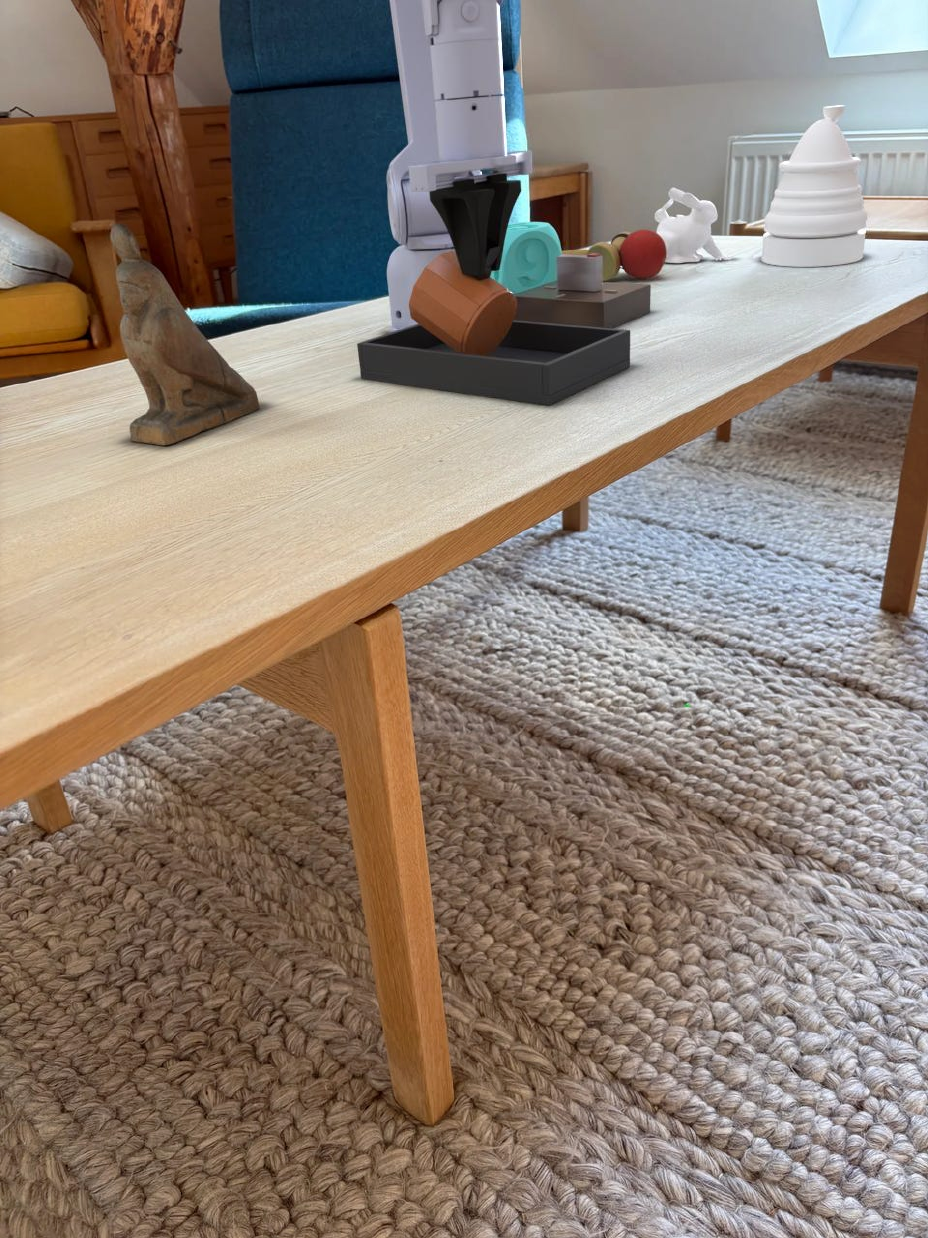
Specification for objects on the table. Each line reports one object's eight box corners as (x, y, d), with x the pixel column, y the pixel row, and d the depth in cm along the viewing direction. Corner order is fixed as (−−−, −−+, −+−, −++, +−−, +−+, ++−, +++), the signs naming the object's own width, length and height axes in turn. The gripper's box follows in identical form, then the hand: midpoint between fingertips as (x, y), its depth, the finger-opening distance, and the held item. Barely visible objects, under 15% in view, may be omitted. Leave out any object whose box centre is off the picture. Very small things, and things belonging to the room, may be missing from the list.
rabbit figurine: (734, 258, 135) (738, 182, 130) (707, 268, 130) (711, 189, 125) (657, 255, 142) (659, 183, 138) (630, 264, 137) (630, 189, 133)
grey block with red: (557, 289, 108) (556, 253, 106) (564, 287, 109) (563, 251, 107) (596, 291, 105) (595, 255, 103) (602, 289, 106) (602, 253, 104)
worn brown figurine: (176, 475, 79) (82, 252, 68) (132, 465, 82) (35, 249, 70) (273, 405, 86) (202, 192, 74) (229, 398, 88) (155, 192, 77)
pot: (456, 369, 88) (401, 328, 90) (501, 351, 93) (448, 313, 95) (490, 268, 81) (430, 226, 83) (538, 254, 86) (479, 215, 88)
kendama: (531, 289, 133) (646, 276, 121) (529, 239, 131) (646, 221, 120) (564, 289, 138) (678, 276, 127) (562, 241, 137) (677, 224, 125)
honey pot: (797, 248, 139) (809, 105, 130) (882, 254, 130) (900, 101, 121) (741, 262, 132) (750, 112, 124) (827, 269, 123) (842, 108, 115)
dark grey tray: (360, 378, 92) (356, 343, 90) (448, 346, 101) (446, 314, 99) (549, 405, 80) (548, 364, 78) (630, 366, 89) (630, 329, 87)
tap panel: (510, 323, 109) (508, 294, 107) (559, 305, 115) (558, 277, 114) (603, 331, 102) (603, 300, 100) (650, 312, 108) (651, 282, 107)
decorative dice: (537, 285, 128) (534, 219, 124) (563, 293, 122) (562, 225, 118) (480, 293, 126) (476, 226, 122) (504, 302, 119) (500, 232, 116)
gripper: (452, 98, 73) (465, 288, 79) (558, 90, 83) (563, 260, 89) (382, 105, 77) (400, 285, 83) (492, 97, 87) (501, 258, 93)
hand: (480, 272), depth 86 cm, fingers closed on pot, 2 cm apart
